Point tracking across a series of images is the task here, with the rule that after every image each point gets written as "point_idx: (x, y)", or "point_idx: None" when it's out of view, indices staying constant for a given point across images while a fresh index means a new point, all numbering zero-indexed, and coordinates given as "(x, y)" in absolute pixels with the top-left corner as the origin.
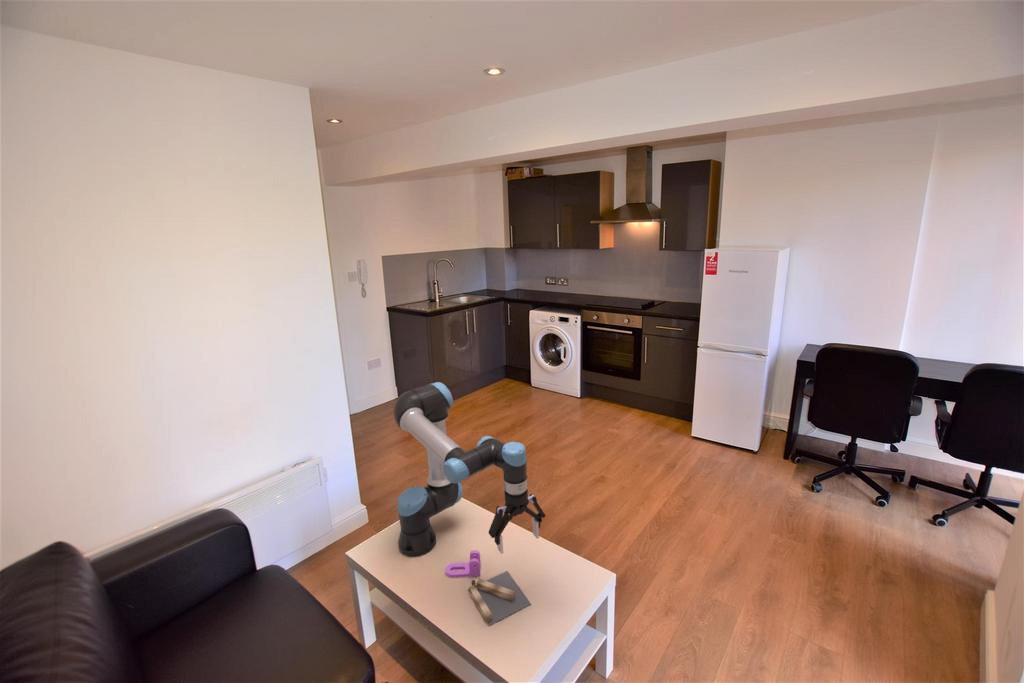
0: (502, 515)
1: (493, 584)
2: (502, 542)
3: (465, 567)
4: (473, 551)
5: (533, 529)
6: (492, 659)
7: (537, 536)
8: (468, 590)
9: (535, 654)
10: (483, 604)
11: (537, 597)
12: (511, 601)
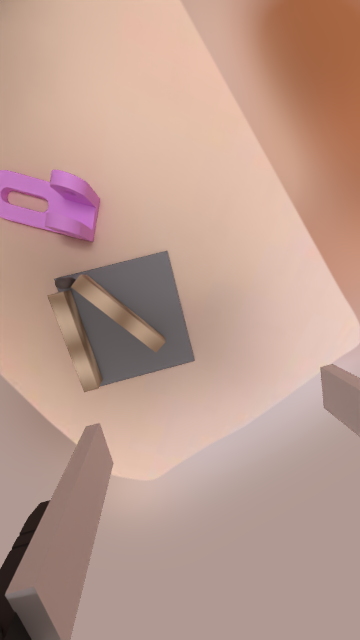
0: None
1: (116, 306)
2: (89, 555)
3: (49, 203)
4: (59, 177)
5: (354, 395)
6: None
7: (339, 416)
8: None
9: (169, 454)
10: (81, 358)
11: (212, 345)
12: None
